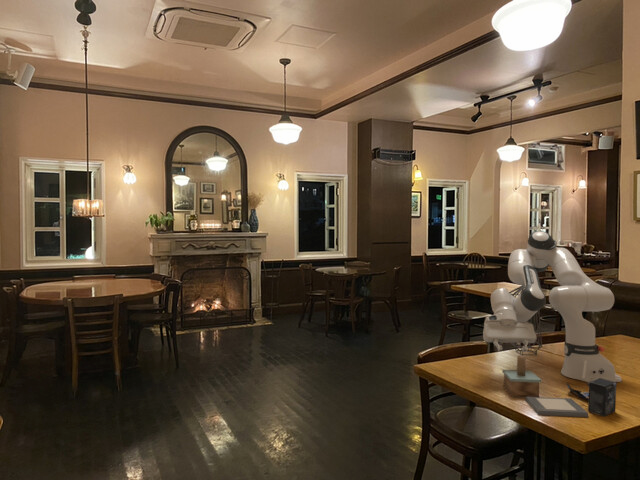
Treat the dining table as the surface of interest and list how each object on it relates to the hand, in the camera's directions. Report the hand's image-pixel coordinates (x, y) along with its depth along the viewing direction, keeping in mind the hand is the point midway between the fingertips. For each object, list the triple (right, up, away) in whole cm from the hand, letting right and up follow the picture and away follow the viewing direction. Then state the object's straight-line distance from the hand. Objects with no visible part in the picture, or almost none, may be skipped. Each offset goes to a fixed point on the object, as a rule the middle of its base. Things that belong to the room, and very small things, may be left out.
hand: (512, 350), depth 183 cm
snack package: (+23, -16, -10) cm, 30 cm away
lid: (+1, -9, -5) cm, 10 cm away
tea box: (+1, -15, -5) cm, 16 cm away
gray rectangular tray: (+6, -16, -20) cm, 27 cm away
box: (+21, -16, -23) cm, 35 cm away
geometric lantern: (+27, -14, +51) cm, 59 cm away
